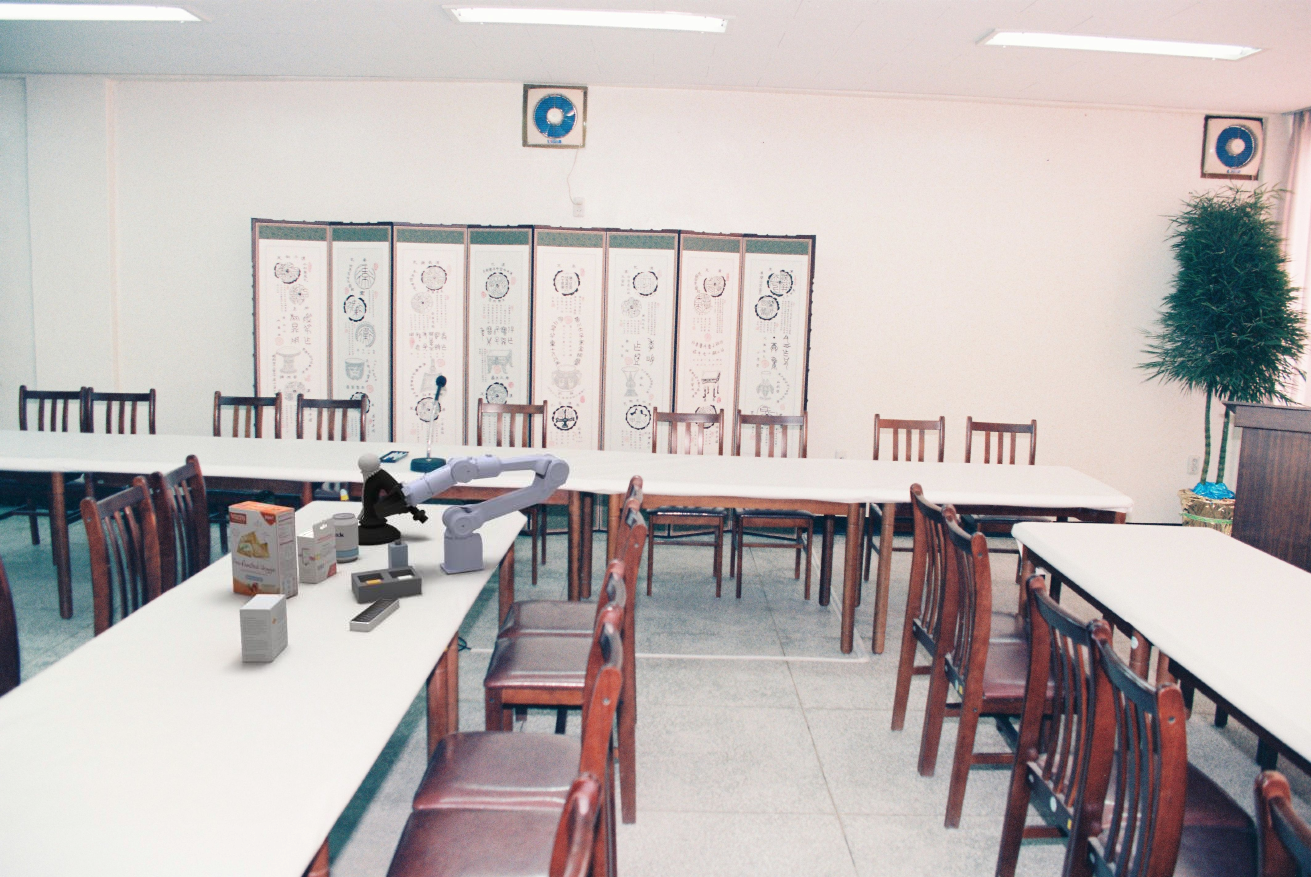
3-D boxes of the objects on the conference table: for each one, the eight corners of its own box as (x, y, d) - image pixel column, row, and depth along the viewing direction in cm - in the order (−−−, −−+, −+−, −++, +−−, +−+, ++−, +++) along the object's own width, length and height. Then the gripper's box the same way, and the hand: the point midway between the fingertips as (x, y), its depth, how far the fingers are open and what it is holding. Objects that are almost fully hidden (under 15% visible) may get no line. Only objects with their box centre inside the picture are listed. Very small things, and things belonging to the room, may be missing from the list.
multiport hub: (348, 632, 160) (348, 621, 159) (381, 606, 174) (381, 596, 173) (369, 633, 159) (368, 623, 159) (400, 607, 173) (400, 598, 173)
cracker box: (231, 593, 177) (226, 505, 174) (253, 585, 183) (249, 499, 180) (278, 603, 173) (274, 512, 169) (299, 594, 178) (295, 506, 175)
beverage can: (324, 561, 202) (323, 516, 200) (344, 554, 208) (343, 511, 206) (345, 565, 199) (343, 520, 198) (364, 557, 206) (363, 514, 204)
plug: (404, 571, 196) (404, 537, 195) (408, 576, 193) (407, 541, 191) (388, 573, 194) (387, 539, 193) (391, 578, 191) (391, 543, 189)
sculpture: (358, 529, 232) (356, 448, 228) (436, 533, 231) (435, 451, 227) (336, 544, 216) (333, 457, 213) (419, 548, 216) (418, 460, 212)
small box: (259, 644, 151) (256, 593, 150) (288, 644, 152) (286, 593, 150) (241, 662, 144) (238, 608, 142) (272, 662, 144) (269, 609, 142)
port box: (411, 581, 189) (411, 564, 189) (421, 594, 181) (421, 576, 180) (351, 589, 182) (351, 572, 182) (358, 603, 174) (358, 585, 173)
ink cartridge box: (319, 571, 194) (317, 514, 192) (337, 573, 193) (335, 516, 191) (297, 582, 186) (295, 523, 184) (316, 584, 185) (313, 525, 183)
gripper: (419, 479, 200) (370, 504, 195) (419, 466, 187) (366, 492, 182) (432, 502, 199) (383, 528, 194) (433, 491, 186) (380, 518, 181)
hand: (376, 512), depth 188 cm, fingers open, 7 cm apart
